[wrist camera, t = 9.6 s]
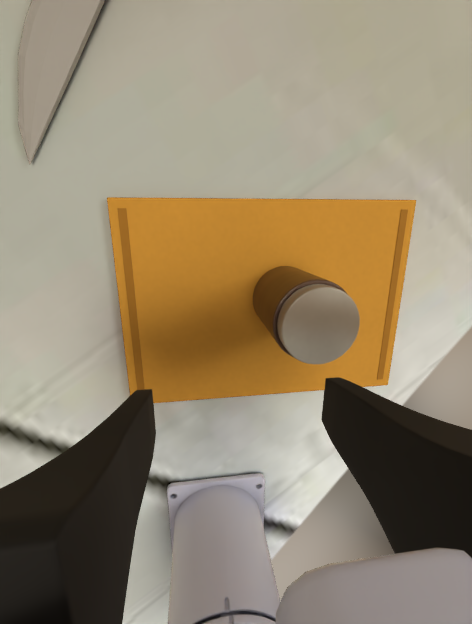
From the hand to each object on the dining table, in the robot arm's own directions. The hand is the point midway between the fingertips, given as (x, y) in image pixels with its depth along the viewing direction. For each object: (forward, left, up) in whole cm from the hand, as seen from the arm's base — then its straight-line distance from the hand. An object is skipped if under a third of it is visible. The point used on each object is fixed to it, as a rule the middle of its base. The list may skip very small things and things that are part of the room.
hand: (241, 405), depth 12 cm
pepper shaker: (+2, -4, -9) cm, 10 cm away
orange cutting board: (+2, -3, -9) cm, 10 cm away
